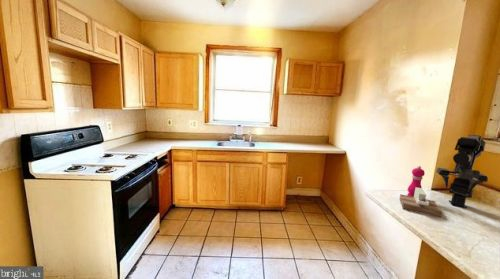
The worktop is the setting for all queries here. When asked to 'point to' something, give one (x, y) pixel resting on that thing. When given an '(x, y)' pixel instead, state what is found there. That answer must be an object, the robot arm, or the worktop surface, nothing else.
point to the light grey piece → (420, 196)
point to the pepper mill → (415, 180)
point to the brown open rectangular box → (420, 206)
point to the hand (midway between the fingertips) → (457, 189)
